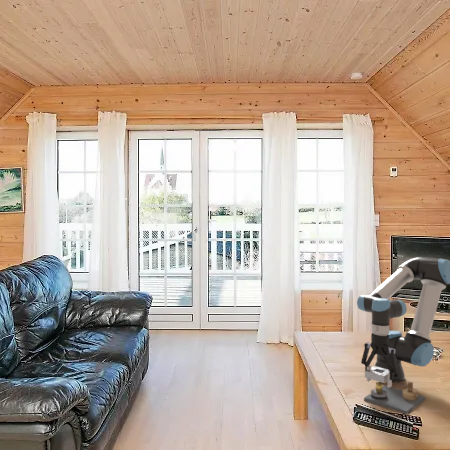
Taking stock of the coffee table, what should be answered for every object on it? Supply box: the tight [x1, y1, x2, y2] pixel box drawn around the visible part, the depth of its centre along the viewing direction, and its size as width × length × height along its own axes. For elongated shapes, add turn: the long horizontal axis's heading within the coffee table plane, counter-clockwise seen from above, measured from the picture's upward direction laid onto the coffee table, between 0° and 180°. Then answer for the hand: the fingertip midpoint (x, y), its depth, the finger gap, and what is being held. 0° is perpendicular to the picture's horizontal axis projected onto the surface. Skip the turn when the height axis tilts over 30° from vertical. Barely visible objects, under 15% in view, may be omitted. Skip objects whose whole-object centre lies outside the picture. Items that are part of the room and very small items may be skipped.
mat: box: [363, 385, 426, 415], centre depth 202 cm, size 20×19×1 cm
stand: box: [402, 381, 418, 401], centre depth 201 cm, size 6×6×7 cm
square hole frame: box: [364, 365, 389, 384], centre depth 203 cm, size 9×9×3 cm
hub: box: [370, 381, 387, 400], centre depth 203 cm, size 7×7×6 cm
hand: (379, 383), depth 203 cm, fingers closed on square hole frame, 9 cm apart
